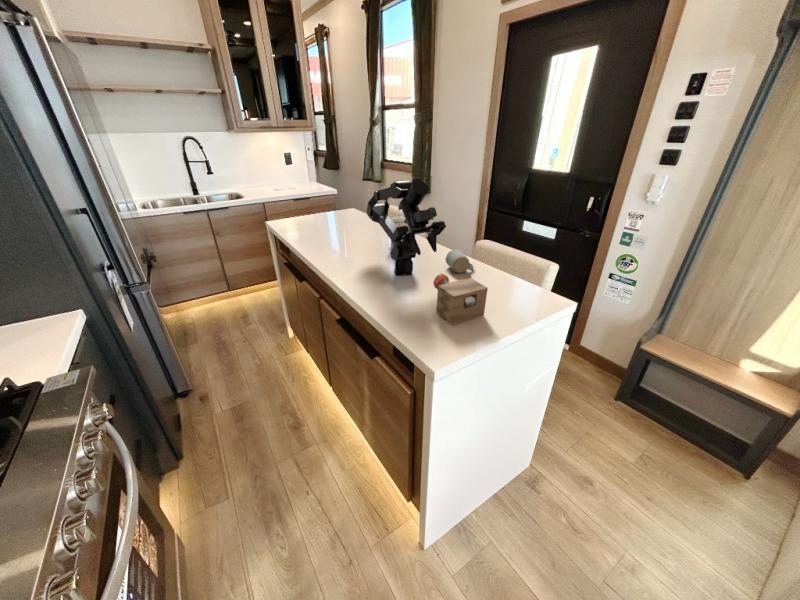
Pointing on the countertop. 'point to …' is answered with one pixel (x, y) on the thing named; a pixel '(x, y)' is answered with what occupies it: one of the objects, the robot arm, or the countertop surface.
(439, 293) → the hitch block
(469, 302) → the steel pin
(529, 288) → the countertop surface
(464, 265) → the ceramic mug
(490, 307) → the countertop surface
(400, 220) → the french press
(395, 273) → the robot arm
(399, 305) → the countertop surface
